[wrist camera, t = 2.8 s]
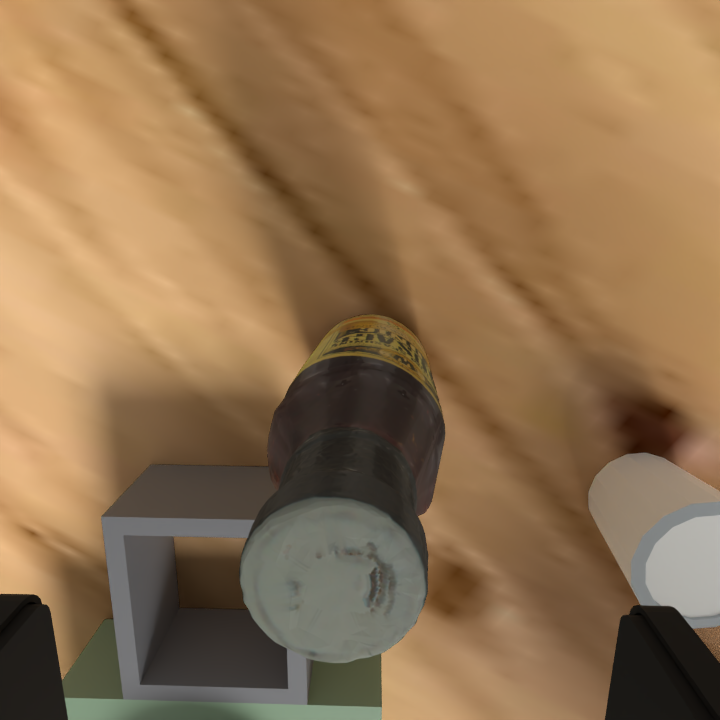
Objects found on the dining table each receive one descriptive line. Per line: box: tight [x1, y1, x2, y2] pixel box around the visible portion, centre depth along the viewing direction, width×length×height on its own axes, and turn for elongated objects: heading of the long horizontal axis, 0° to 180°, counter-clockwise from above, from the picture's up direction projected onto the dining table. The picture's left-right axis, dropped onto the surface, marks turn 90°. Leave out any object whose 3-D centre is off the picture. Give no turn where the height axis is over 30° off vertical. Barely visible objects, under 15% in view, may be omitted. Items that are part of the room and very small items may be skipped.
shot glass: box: [588, 453, 720, 629], centre depth 28 cm, size 7×7×7 cm
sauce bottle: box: [239, 314, 445, 663], centre depth 21 cm, size 6×6×20 cm
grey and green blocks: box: [62, 465, 382, 720], centre depth 31 cm, size 18×25×9 cm
